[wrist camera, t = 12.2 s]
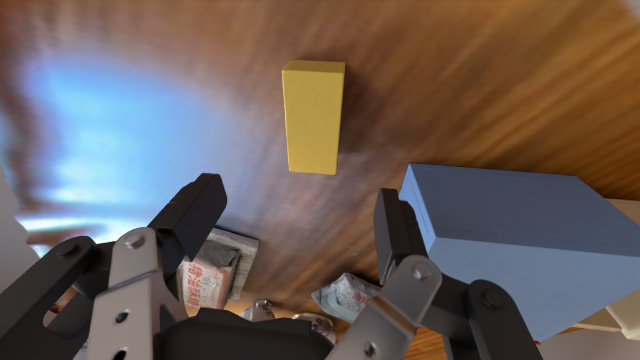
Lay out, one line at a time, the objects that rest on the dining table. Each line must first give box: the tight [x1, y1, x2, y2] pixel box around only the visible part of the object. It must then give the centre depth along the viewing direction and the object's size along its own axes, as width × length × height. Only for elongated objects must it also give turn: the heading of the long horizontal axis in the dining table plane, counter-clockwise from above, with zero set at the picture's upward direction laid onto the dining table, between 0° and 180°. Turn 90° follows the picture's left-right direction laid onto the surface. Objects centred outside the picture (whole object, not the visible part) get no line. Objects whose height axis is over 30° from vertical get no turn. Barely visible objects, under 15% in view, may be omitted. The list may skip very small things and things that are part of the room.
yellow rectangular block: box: [282, 60, 345, 175], centre depth 18 cm, size 8×4×3 cm, turn 179°
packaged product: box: [183, 228, 259, 310], centre depth 34 cm, size 18×5×10 cm
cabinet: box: [399, 163, 640, 341], centre depth 22 cm, size 15×14×9 cm
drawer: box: [572, 198, 640, 340], centre depth 21 cm, size 18×12×7 cm
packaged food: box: [311, 273, 382, 323], centre depth 34 cm, size 9×12×5 cm
